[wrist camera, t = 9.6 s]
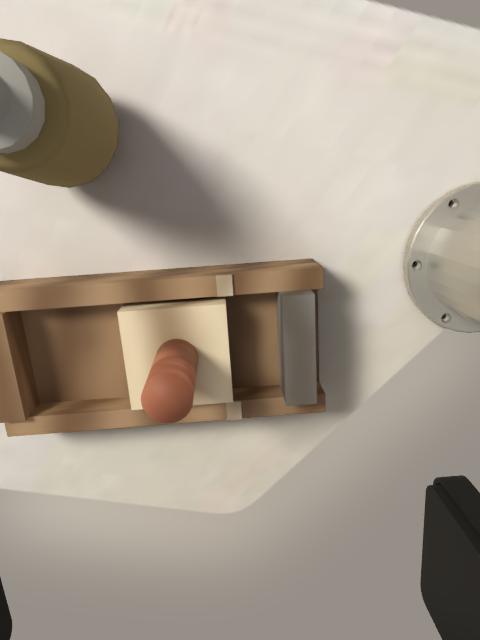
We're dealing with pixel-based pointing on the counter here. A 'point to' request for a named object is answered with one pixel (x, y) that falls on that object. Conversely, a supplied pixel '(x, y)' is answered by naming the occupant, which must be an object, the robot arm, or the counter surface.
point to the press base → (107, 354)
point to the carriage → (176, 355)
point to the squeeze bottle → (52, 119)
